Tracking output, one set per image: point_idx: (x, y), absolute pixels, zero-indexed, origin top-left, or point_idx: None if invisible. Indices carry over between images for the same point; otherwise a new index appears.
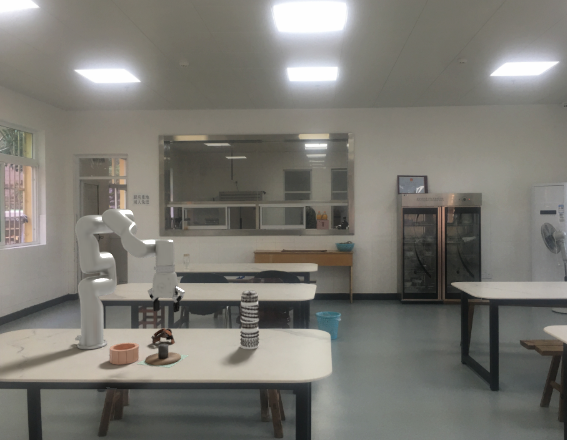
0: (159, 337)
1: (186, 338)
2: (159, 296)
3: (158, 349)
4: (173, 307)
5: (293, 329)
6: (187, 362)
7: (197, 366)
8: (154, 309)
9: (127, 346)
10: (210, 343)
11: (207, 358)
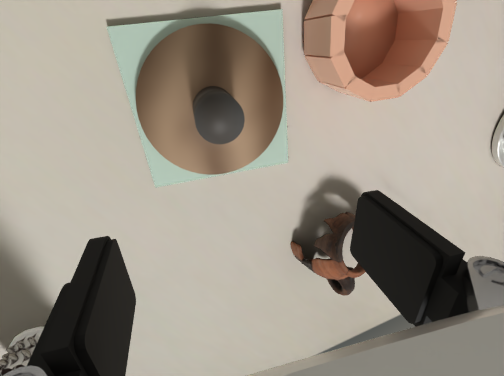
0: (336, 230)
1: (290, 299)
2: (422, 353)
3: (230, 95)
4: (98, 277)
5: None
6: (105, 132)
7: (20, 110)
8: (375, 197)
9: (393, 78)
10: (190, 305)
11: (72, 202)
